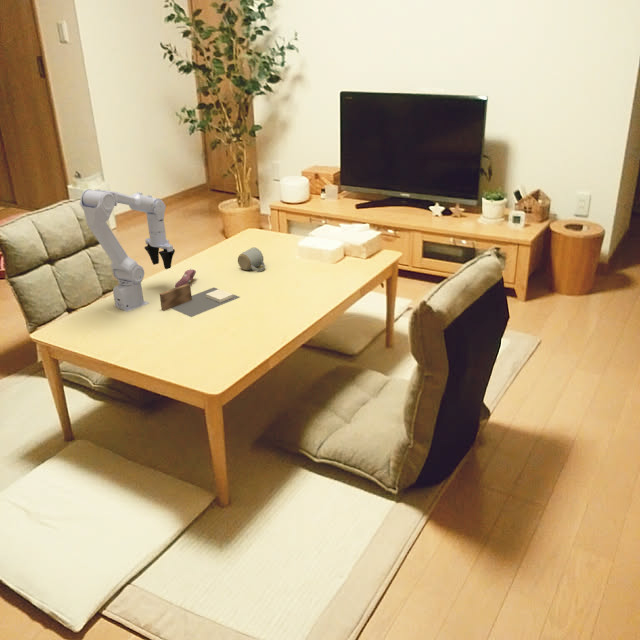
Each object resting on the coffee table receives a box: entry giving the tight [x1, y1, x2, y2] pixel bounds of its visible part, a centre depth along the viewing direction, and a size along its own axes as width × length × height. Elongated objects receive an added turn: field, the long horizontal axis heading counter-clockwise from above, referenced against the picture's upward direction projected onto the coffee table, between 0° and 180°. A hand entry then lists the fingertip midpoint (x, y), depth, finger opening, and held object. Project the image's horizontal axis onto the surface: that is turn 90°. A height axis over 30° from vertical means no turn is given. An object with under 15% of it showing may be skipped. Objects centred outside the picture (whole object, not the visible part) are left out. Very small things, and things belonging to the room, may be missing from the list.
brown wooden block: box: [159, 283, 192, 312], centre depth 234 cm, size 12×2×6 cm, turn 138°
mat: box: [170, 287, 241, 318], centre depth 237 cm, size 22×15×1 cm
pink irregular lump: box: [174, 268, 197, 288], centre depth 253 cm, size 10×5×7 cm, turn 170°
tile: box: [206, 288, 234, 303], centre depth 240 cm, size 1×8×6 cm
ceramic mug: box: [237, 247, 266, 273], centre depth 266 cm, size 11×8×8 cm
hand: (161, 266), depth 246 cm, fingers open, 7 cm apart
